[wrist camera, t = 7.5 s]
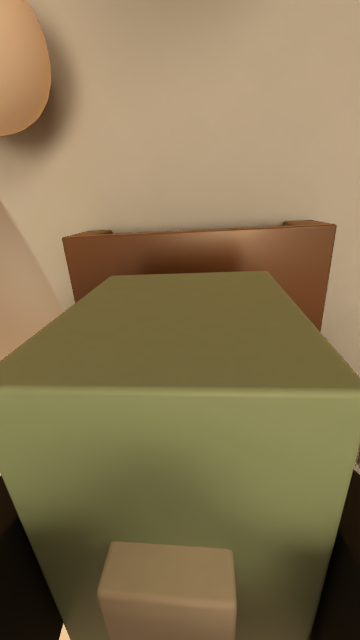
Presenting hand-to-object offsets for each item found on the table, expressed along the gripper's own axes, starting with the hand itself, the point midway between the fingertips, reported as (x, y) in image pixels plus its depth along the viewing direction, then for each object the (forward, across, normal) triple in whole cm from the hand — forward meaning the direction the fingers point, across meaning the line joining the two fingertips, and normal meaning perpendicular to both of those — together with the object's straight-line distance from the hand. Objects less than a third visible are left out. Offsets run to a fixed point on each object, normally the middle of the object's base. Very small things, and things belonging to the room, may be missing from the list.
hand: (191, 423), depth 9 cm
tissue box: (+2, 0, 0) cm, 2 cm away
